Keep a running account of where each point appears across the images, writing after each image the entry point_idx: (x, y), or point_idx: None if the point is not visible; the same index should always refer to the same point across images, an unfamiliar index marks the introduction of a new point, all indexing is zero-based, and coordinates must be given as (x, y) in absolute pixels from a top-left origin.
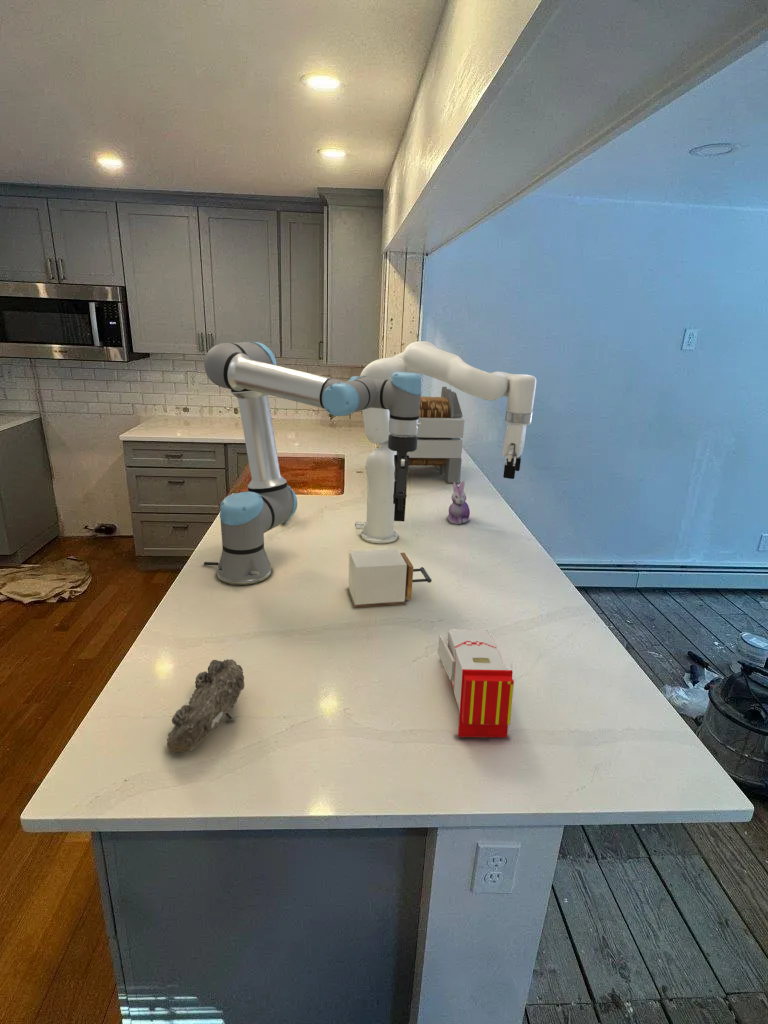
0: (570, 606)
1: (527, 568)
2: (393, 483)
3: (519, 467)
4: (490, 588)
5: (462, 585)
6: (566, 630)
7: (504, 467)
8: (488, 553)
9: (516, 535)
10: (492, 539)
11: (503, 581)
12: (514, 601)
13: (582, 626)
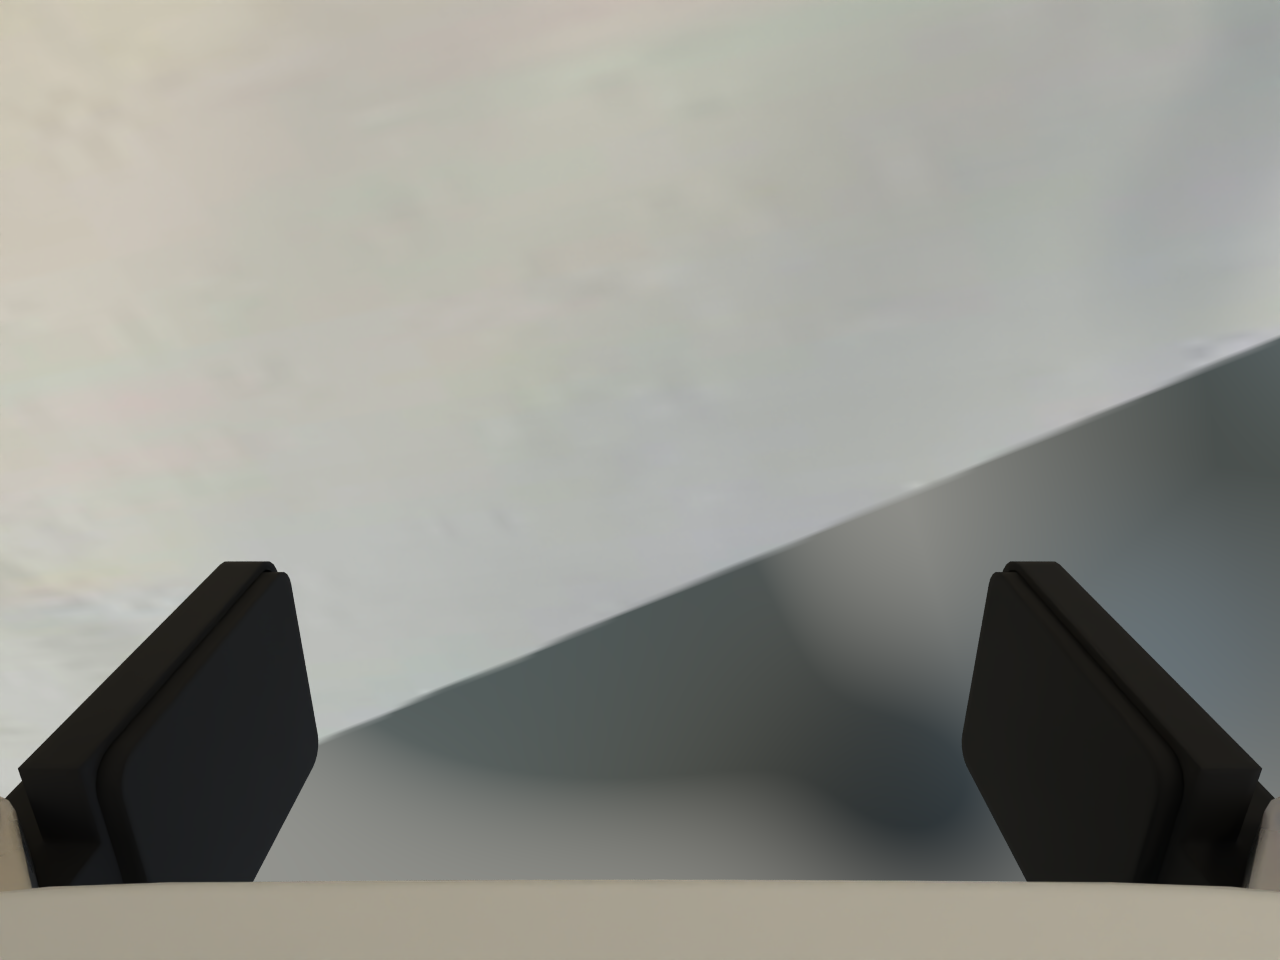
0: None
1: (612, 470)
2: None
3: (1006, 813)
4: (200, 310)
5: (122, 125)
6: (21, 711)
7: (80, 707)
8: (745, 179)
9: (1189, 315)
10: (1046, 149)
11: (343, 366)
12: (133, 466)
13: None
